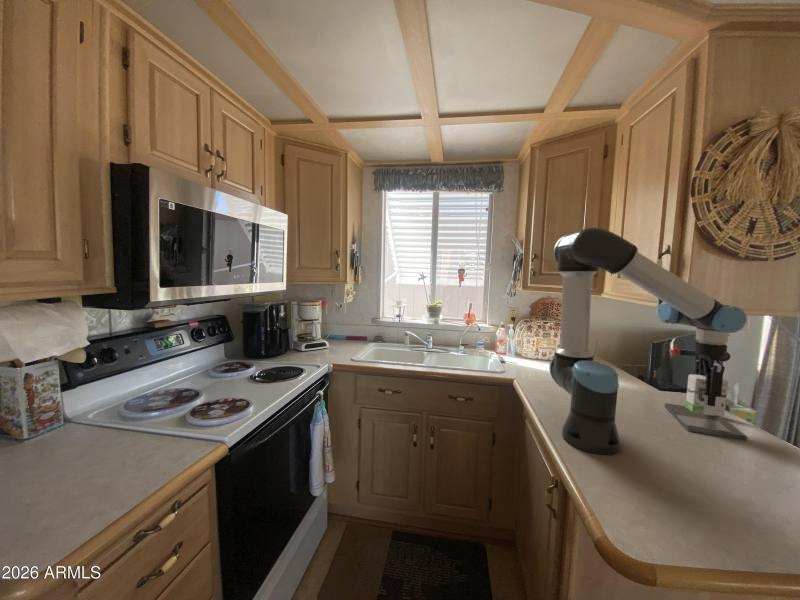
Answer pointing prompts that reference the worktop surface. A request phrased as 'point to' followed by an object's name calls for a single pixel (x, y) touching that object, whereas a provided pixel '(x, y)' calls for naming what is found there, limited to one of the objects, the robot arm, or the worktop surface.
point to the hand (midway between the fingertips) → (704, 410)
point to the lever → (693, 353)
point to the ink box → (697, 397)
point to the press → (704, 422)
